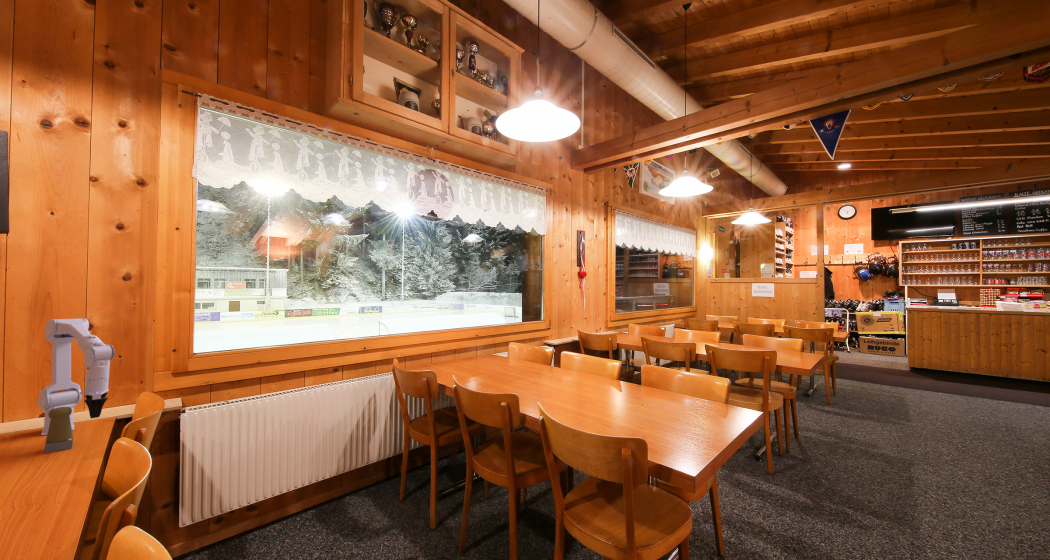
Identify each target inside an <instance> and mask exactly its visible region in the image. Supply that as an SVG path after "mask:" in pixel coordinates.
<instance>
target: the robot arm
mask: <svg viewBox="0 0 1050 560" xmlns="http://www.w3.org/2000/svg"><path fill="white" fill-rule="evenodd" d="M44 328H45V332H44V333H45V334H44V336H45V341H49V342H51V383H50V384H48V385H47V386H45V387H43V389H41V390H40V391H39V397H38V401H37V404H38V408H39V409H41V410H44V419H43V422H44V423H43V428H42V431H41V434H40V435H41V436H47V434H48V430H49V425H50V421H51V418H49V416H48V414H49V412H50V410H52V409H55V408H59V407H70V408H71V409H72V413H71V414H70V415H69V417H70V422H71V428H72V431H74V430H75V423H74V412H75V407H77V404H79V403H80V401H82V396H83V395H84V397H85V398H84V403H85V404H86V406H87V408H88V413H89V417H90V419H96V418H100V416H101V415H102V412H103V407H104V405H105V403H106V402H107V400H108V399H109V397H108V396H107V395H108V392H109V391H110V388H109V380H110V369H111V367H110V366H111V361H112V360H113V359H114V357H115V347H114V346H113V344H105V343H104V342H103V341H102V340H101V339H100V338H99V337H98V336H97V335H95V334H91V332H90V331H89V329H90V323H89V320H88V319H87V318H85V317H82V318H81V317H80V318H57V319H56V318H50V319H49V320H48V321H47V322H46V324H45V327H44ZM74 340H77V342H76V346H77V347H78V348H79V349H80V350H81V351H82V352H83V360H84V366H85V368H86V371H85V372H86V373H85V374H86V375H85V385H84V391H81V386H80V384H78V383H76V382H73V381H72V342H74ZM106 396H107V397H106Z"/></svg>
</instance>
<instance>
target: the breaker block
mask: <svg viewBox="0 0 1050 560" xmlns="http://www.w3.org/2000/svg"><path fill="white" fill-rule="evenodd" d="M73 440H74V436H73V437H72V438H70V439H67V440H64V441H59V442H52V443H46V442H45V443H44V451H43V454H45V453H46V454H50V453H49V452H51V453H55V452H54V451H56V452H60V450H62V451H66V450H65V449H67V450H71V448H72V449H73V442H74V441H73ZM46 454H45V455H46Z"/></svg>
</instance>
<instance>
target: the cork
mask: <svg viewBox="0 0 1050 560" xmlns="http://www.w3.org/2000/svg"><path fill="white" fill-rule="evenodd" d="M71 413H72V409H71V408H70V407H59V408H55V409H52V410H50V412H49V414H48V416H49V418H51V421H50V425H49V430H48V434H47V435H46V439H45V443H52V442H59V441H64V440H67V439H70V438H72V437H73V438H74V436H73V435H74V434H73V430H72V428H71V422H70V417H69V415H70V414H71Z"/></svg>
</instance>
